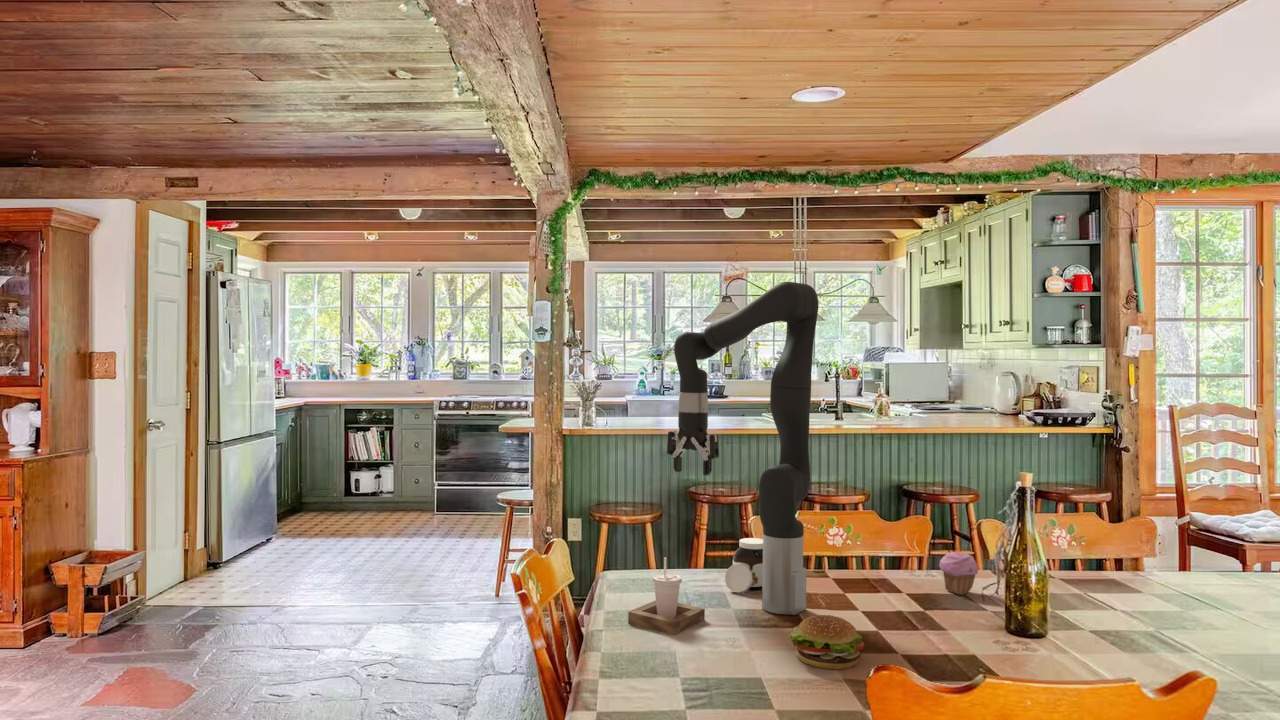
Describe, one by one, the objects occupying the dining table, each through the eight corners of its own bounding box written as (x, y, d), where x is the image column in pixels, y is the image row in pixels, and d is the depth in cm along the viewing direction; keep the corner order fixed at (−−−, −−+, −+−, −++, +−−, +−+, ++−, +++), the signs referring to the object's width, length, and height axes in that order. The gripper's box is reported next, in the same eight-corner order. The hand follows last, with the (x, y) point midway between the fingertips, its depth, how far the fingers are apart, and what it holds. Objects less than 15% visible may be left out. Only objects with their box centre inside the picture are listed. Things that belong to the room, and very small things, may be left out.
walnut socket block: (704, 620, 177) (704, 608, 177) (674, 634, 167) (674, 622, 167) (659, 609, 184) (659, 598, 184) (628, 623, 174) (628, 611, 174)
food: (808, 640, 165) (809, 602, 165) (874, 657, 156) (874, 616, 156) (774, 659, 154) (774, 618, 154) (842, 678, 145) (843, 634, 145)
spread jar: (771, 583, 207) (772, 538, 207) (774, 596, 195) (775, 548, 195) (724, 581, 208) (725, 536, 208) (724, 594, 197) (725, 546, 197)
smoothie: (646, 618, 177) (648, 555, 177) (672, 615, 180) (673, 552, 180) (659, 627, 171) (661, 562, 171) (686, 624, 174) (687, 559, 174)
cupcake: (932, 589, 203) (932, 549, 203) (957, 585, 207) (958, 546, 207) (959, 599, 195) (960, 558, 195) (985, 595, 199) (986, 554, 199)
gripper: (661, 409, 207) (661, 472, 207) (709, 412, 199) (708, 477, 199) (677, 408, 213) (677, 469, 213) (724, 410, 205) (723, 474, 205)
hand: (692, 473), depth 206 cm, fingers open, 8 cm apart
